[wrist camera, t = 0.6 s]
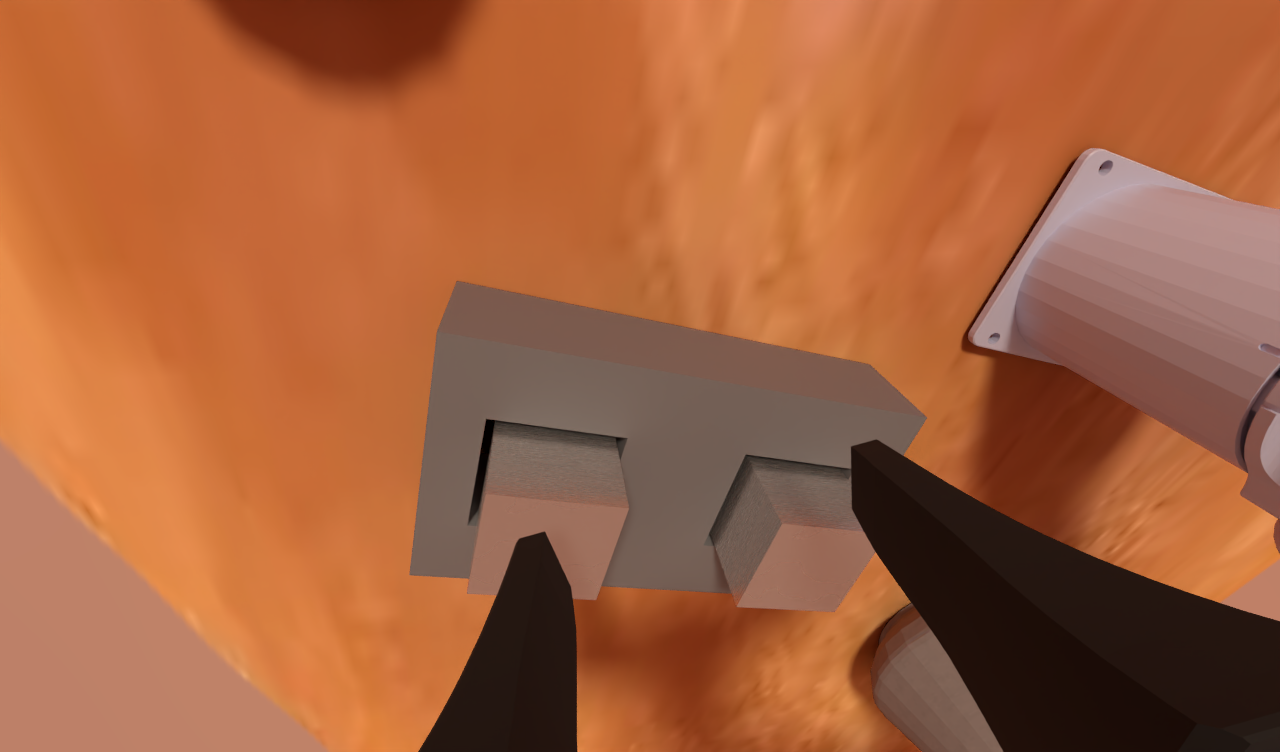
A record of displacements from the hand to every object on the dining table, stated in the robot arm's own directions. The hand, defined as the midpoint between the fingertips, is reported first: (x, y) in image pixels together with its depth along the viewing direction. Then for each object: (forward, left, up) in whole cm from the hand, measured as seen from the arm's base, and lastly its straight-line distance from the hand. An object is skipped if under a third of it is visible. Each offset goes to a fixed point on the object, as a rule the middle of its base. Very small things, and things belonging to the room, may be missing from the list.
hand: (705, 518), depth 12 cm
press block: (-2, +4, -10) cm, 11 cm away
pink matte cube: (-6, +4, -7) cm, 10 cm away
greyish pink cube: (+3, +4, -7) cm, 8 cm away
